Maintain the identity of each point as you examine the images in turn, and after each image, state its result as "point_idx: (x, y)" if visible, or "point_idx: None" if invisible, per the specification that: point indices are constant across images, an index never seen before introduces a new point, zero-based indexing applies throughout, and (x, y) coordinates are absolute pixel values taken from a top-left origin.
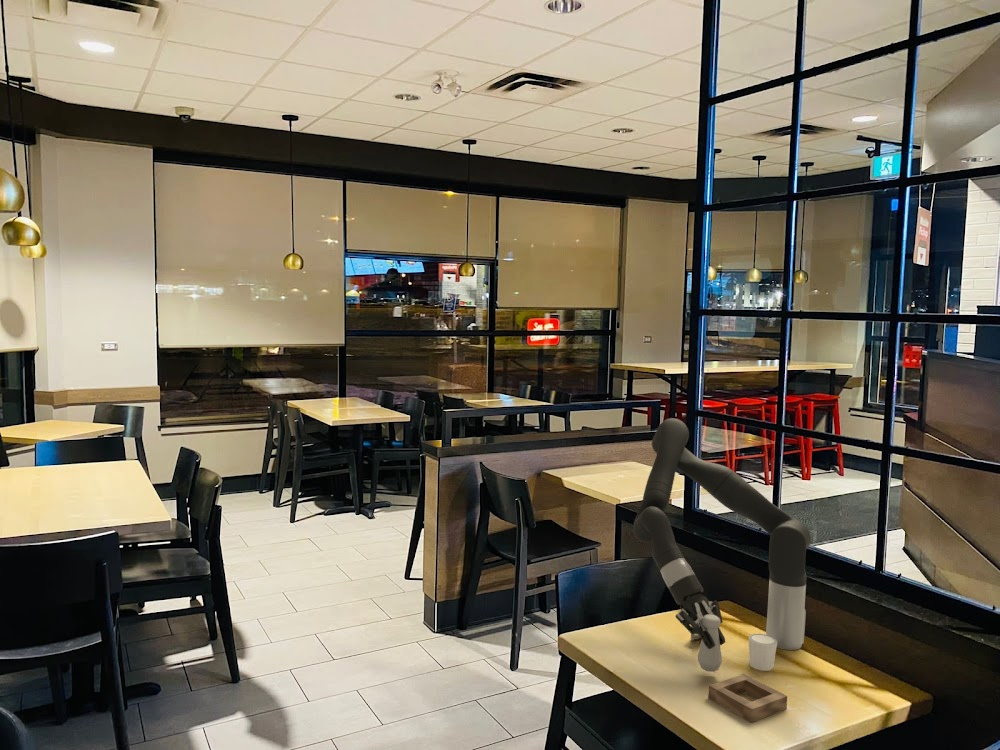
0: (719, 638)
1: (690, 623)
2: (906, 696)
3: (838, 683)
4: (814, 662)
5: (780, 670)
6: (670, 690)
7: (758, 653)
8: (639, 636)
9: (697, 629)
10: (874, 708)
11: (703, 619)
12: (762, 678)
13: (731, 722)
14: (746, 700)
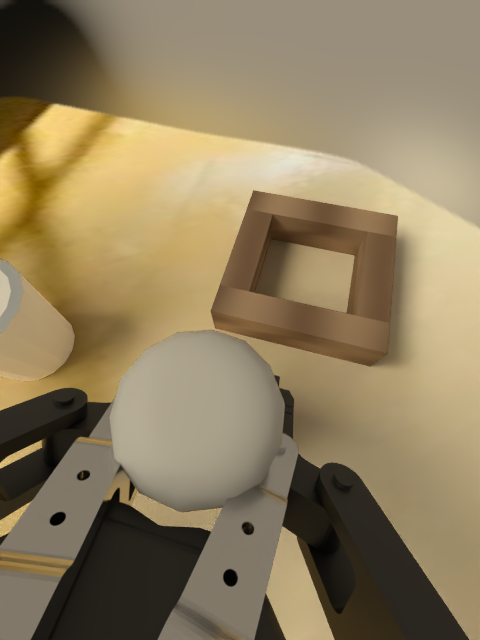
0: None
1: (411, 562)
2: (32, 109)
3: (42, 188)
4: None
5: (42, 295)
6: (443, 490)
7: (45, 318)
8: None
9: (352, 476)
10: (121, 126)
11: (267, 468)
12: (127, 310)
13: (425, 269)
14: (368, 240)
